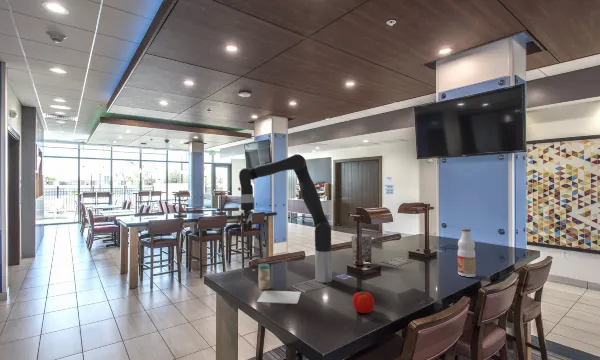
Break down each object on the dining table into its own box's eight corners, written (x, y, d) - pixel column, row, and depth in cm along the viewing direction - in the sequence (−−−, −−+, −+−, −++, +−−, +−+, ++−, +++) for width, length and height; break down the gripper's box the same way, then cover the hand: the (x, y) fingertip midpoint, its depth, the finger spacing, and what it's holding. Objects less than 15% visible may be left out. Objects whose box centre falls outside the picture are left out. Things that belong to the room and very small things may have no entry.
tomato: (371, 306, 136) (371, 288, 136) (377, 316, 126) (377, 296, 126) (350, 307, 136) (350, 288, 136) (355, 317, 126) (355, 296, 126)
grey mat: (301, 292, 155) (301, 291, 155) (297, 303, 140) (297, 303, 140) (264, 291, 157) (264, 290, 157) (256, 302, 142) (256, 301, 142)
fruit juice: (471, 279, 176) (471, 230, 177) (455, 275, 183) (454, 229, 184) (478, 276, 182) (477, 229, 183) (462, 272, 189) (461, 227, 190)
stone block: (357, 266, 206) (357, 236, 206) (351, 264, 212) (350, 235, 212) (372, 264, 211) (372, 235, 212) (366, 261, 218) (366, 233, 218)
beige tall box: (267, 285, 166) (267, 263, 166) (269, 288, 161) (269, 265, 162) (258, 286, 164) (258, 264, 164) (260, 289, 160) (260, 266, 160)
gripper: (249, 202, 174) (250, 230, 173) (256, 201, 188) (257, 228, 187) (237, 202, 175) (237, 231, 174) (245, 201, 189) (245, 228, 188)
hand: (247, 229), depth 180 cm, fingers open, 8 cm apart
